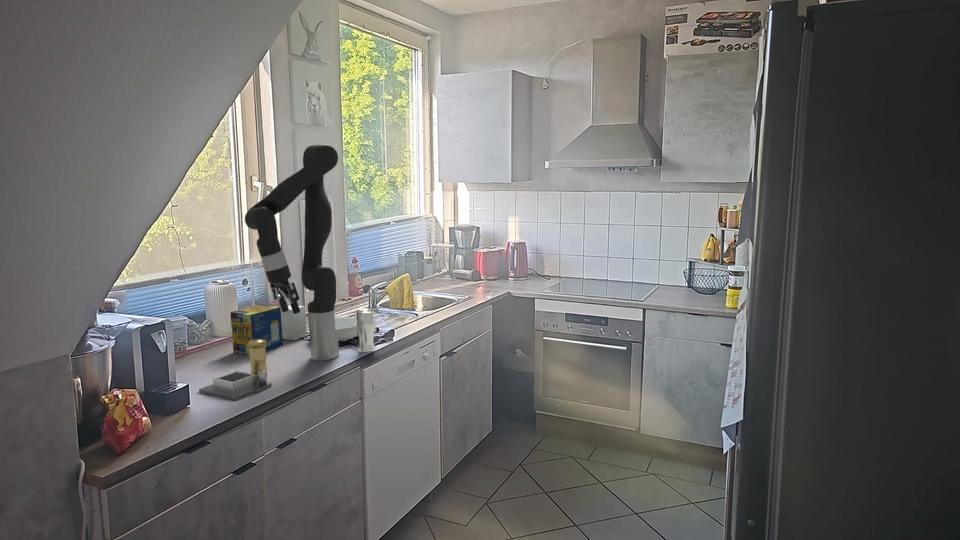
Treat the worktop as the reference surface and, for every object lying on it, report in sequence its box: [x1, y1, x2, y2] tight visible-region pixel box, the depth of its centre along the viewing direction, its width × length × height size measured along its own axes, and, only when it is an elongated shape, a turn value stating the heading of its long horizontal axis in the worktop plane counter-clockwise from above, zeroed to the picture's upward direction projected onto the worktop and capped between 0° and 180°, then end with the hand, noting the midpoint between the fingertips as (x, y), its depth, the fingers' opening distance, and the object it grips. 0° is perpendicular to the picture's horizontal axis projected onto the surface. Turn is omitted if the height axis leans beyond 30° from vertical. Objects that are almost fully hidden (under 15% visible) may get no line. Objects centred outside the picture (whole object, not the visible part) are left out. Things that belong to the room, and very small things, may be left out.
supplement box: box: [281, 305, 308, 341], centre depth 258 cm, size 7×7×13 cm
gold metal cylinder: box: [248, 339, 268, 380], centre depth 210 cm, size 6×6×12 cm
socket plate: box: [198, 370, 272, 402], centre depth 199 cm, size 14×16×5 cm
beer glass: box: [355, 308, 376, 353], centre depth 238 cm, size 7×7×15 cm
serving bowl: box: [335, 316, 358, 342], centre depth 255 cm, size 21×21×7 cm
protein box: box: [229, 303, 284, 356], centre depth 242 cm, size 10×15×16 cm
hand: (291, 312), depth 215 cm, fingers open, 8 cm apart
